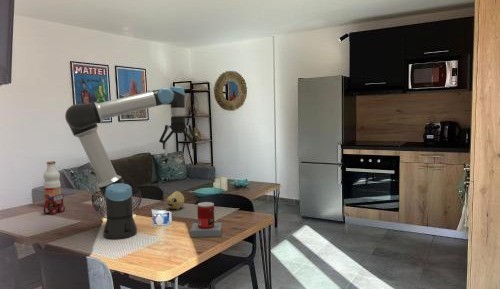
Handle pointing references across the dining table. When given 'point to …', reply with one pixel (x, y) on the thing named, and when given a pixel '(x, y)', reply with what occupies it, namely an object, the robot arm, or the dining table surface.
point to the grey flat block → (206, 231)
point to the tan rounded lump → (175, 200)
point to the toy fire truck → (54, 204)
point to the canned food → (205, 215)
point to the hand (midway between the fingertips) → (178, 155)
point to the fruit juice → (51, 181)
